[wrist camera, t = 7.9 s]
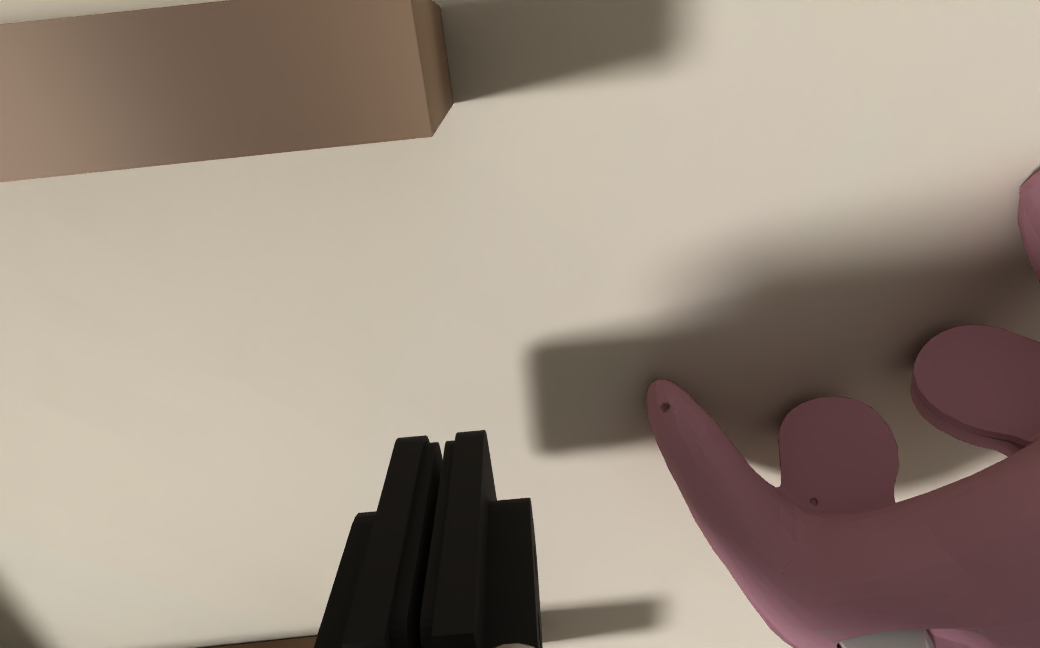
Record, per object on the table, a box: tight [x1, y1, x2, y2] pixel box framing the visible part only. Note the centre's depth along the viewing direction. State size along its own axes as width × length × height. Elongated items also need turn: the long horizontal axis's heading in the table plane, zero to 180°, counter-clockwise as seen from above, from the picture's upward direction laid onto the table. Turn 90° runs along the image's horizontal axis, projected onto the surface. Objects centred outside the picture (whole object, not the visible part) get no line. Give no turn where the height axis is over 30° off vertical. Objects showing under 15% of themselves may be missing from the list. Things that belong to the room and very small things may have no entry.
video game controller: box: [647, 170, 1040, 648], centre depth 11 cm, size 10×5×7 cm, turn 123°
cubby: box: [0, 0, 453, 648], centre depth 11 cm, size 19×17×4 cm
